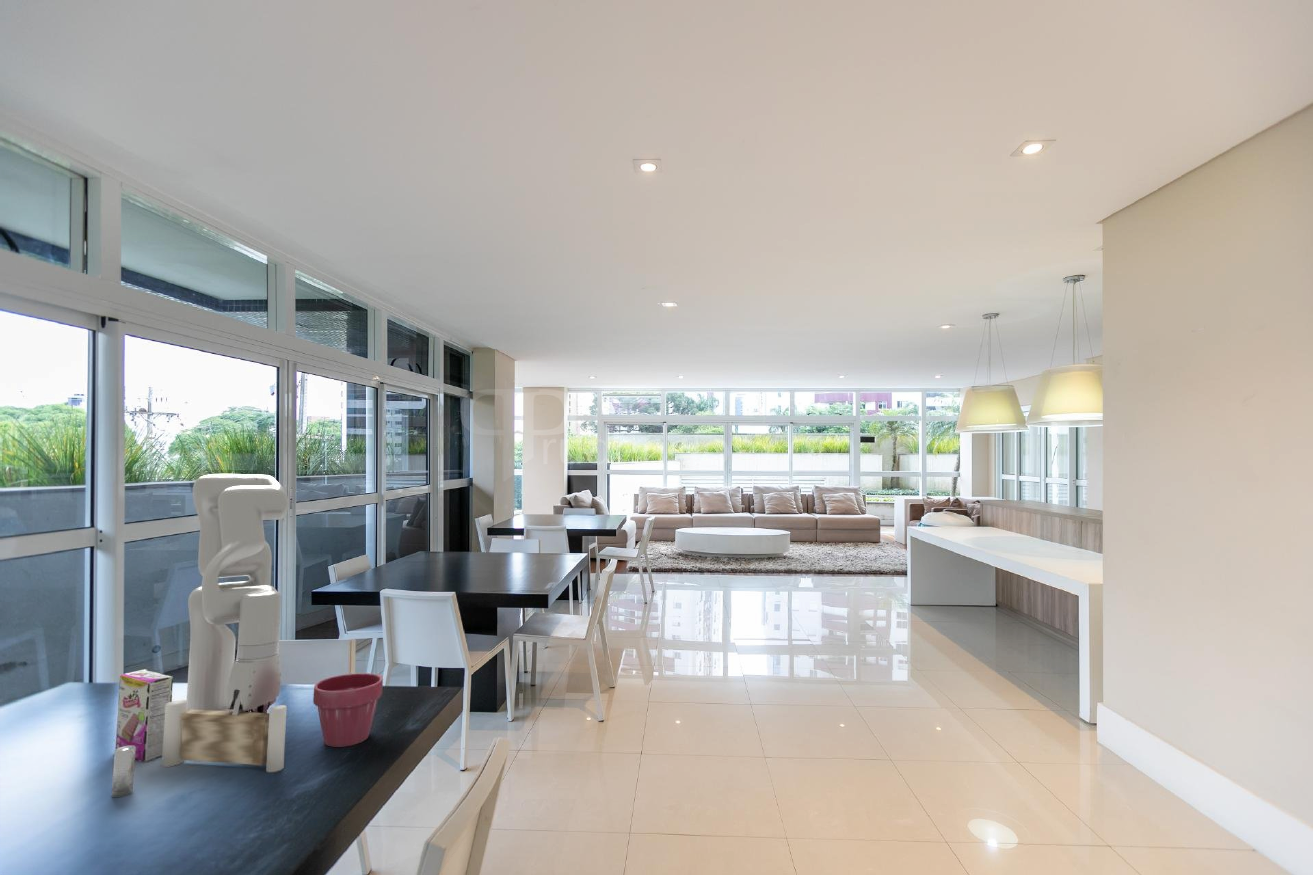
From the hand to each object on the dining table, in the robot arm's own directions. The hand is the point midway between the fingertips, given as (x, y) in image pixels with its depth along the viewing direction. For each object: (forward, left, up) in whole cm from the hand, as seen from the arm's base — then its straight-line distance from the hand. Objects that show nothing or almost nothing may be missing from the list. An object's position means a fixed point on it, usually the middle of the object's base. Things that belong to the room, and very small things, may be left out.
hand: (253, 738), depth 135 cm
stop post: (+17, -12, -4) cm, 22 cm away
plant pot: (-11, +14, -4) cm, 19 cm away
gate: (+5, -3, -3) cm, 6 cm away
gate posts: (+5, -3, -4) cm, 7 cm away
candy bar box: (+2, -24, -4) cm, 24 cm away
